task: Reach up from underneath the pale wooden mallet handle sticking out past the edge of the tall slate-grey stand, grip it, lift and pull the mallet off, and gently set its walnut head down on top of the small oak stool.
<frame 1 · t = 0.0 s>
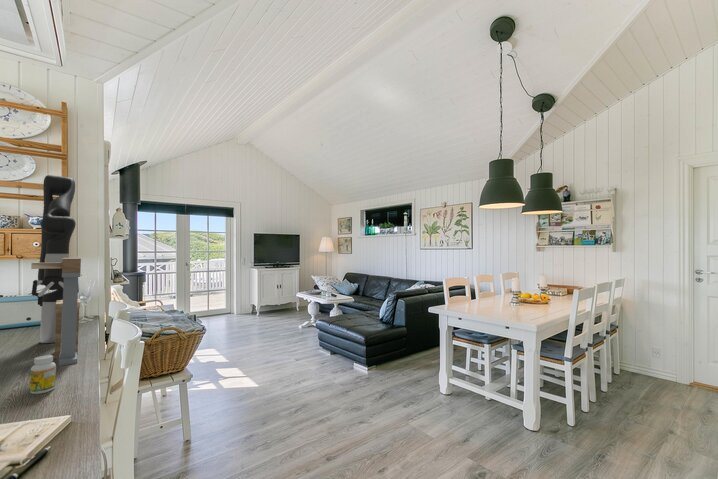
hand: (55, 305, 138), 17 cm above the table, tool pointing down, fingers open, 8 cm apart
stand: (67, 360, 124), on the table
supplement bottle: (42, 391, 99), on the table
mallet: (71, 272, 124), point 32 cm above the table, touching stand
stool: (66, 353, 132), on the table
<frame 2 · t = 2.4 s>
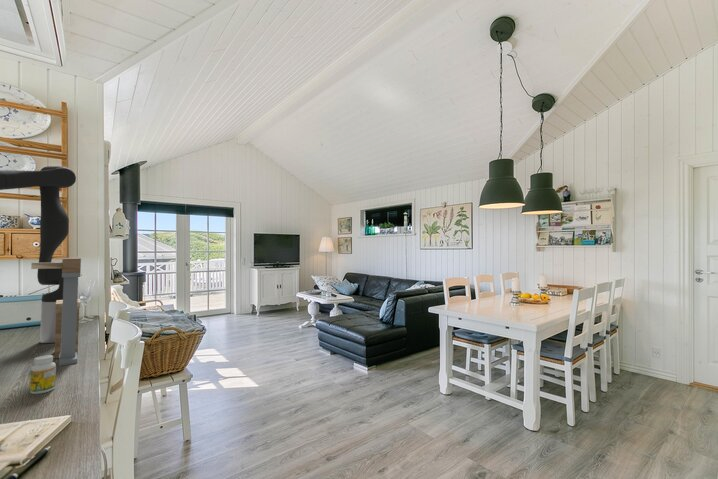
nothing on the table moved.
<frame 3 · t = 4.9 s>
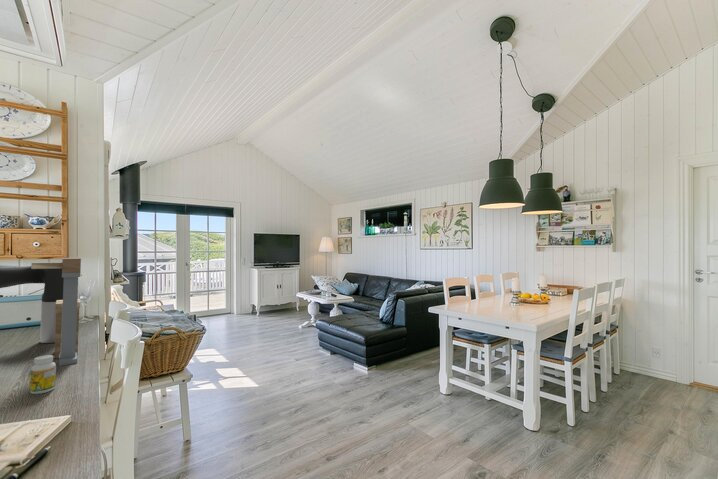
nothing on the table moved.
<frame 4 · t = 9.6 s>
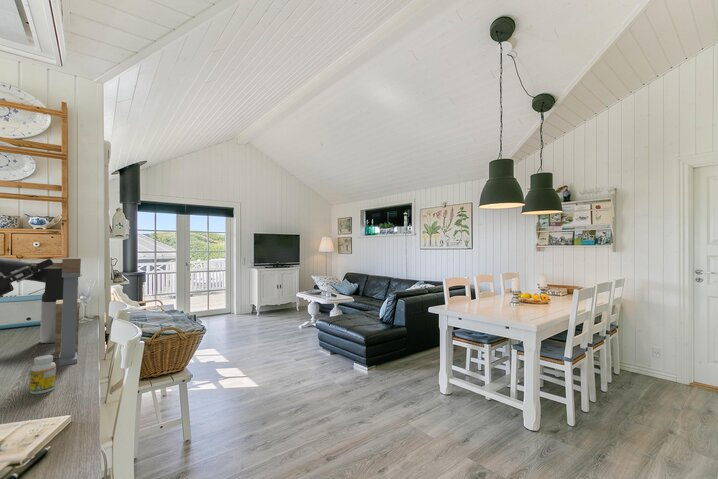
hand: (51, 261, 121), 36 cm above the table, tool pointing upward, fingers closed on mallet
mallet: (71, 272, 124), point 32 cm above the table, touching gripper
everything else where it was.
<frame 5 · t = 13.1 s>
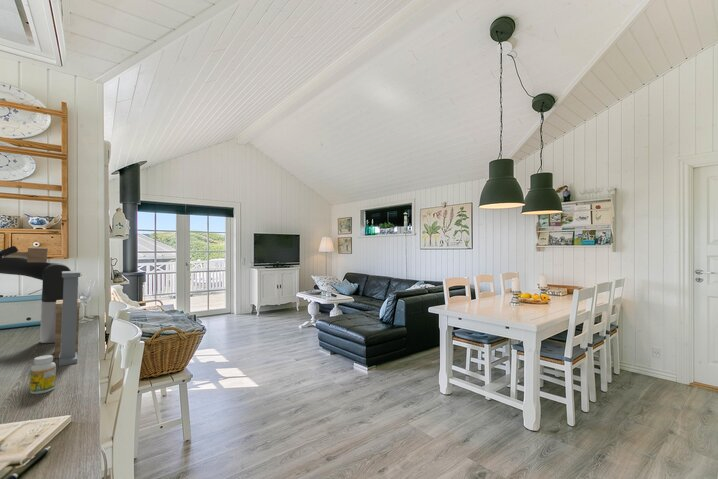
hand: (16, 248, 122), 40 cm above the table, tool pointing upward, fingers closed on mallet
mallet: (37, 261, 125), point 35 cm above the table, touching gripper
everything else where it was.
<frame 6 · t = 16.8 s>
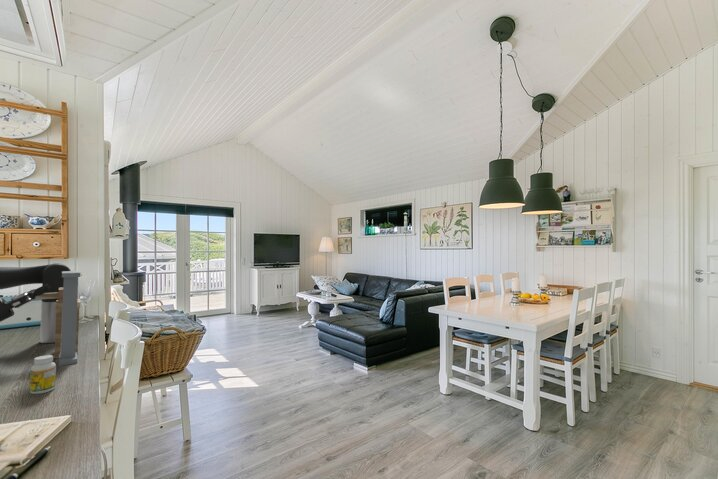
hand: (48, 287, 128), 26 cm above the table, tool pointing upward, fingers open, 5 cm apart
mallet: (67, 301, 132), point 20 cm above the table, touching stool
everything else where it was.
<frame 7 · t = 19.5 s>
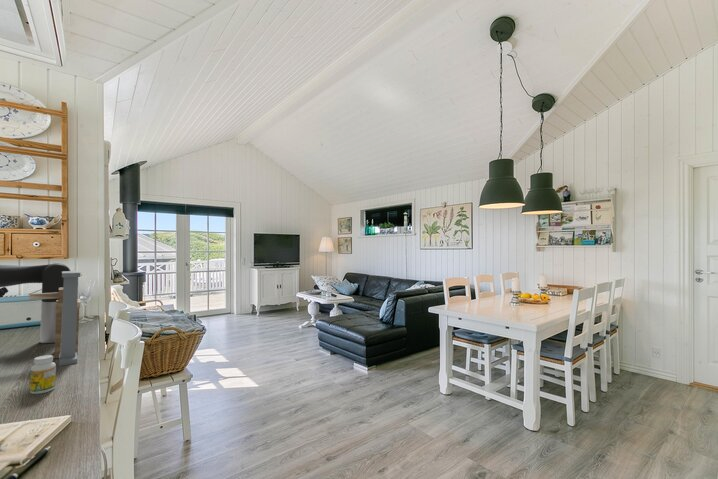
hand: (5, 290, 121), 25 cm above the table, tool pointing upward, fingers open, 8 cm apart
nothing on the table moved.
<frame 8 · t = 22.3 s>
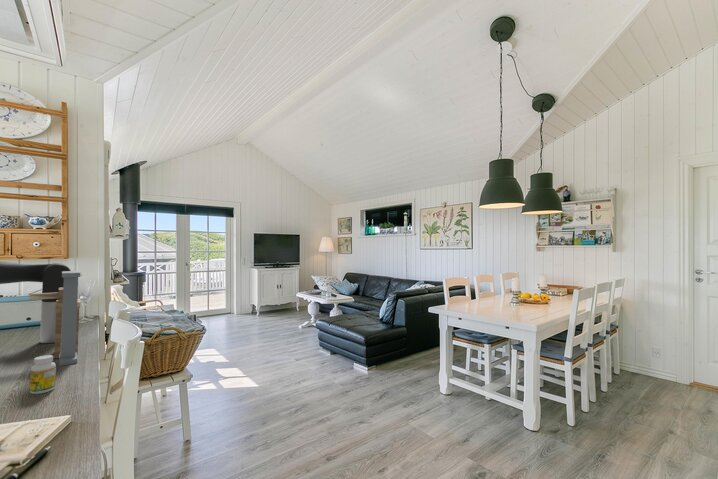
nothing on the table moved.
at the end: mallet inside the target area on the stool (0.4 cm from its centre), point 20.0 cm above the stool's base; the gripper is holding nothing; mallet tilted 0° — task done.
